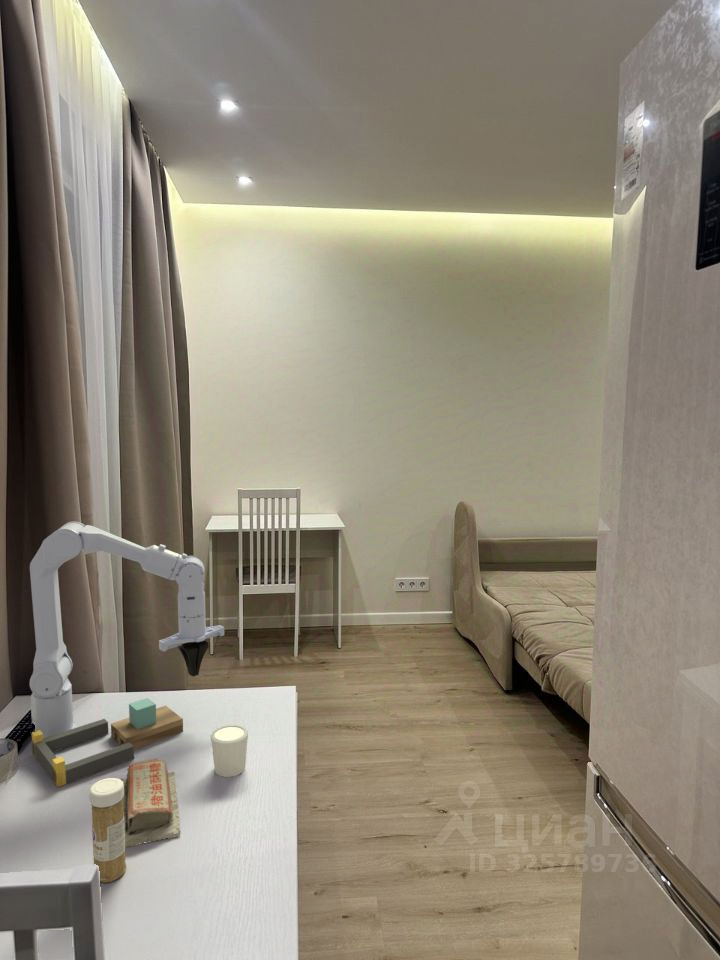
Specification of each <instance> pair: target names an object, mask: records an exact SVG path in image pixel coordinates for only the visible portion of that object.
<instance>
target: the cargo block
mask: <svg viewBox="0 0 720 960" xmlns="http://www.w3.org/2000/svg"><path fill="white" fill-rule="evenodd" d="M156 705H157V704H156V703H154V701H152V700H151V699H149V698H148V697H146V698H143V699H139V700H137V701H133V702H129V703H128V712H129V713H128V714H129V715H128V716H129V717H128V718H129V719H130V723H131V724H132V725H133V726H134V727H136V728H137V729H140V728H143V727H146V726H149V725H152V724H154V723H156V709H157V706H156Z"/></svg>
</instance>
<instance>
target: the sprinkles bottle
mask: <svg viewBox="0 0 720 960" xmlns="http://www.w3.org/2000/svg"><path fill="white" fill-rule="evenodd" d="M120 779H121V778H116V777H108V778H104V779H101V780H98V781H96V782H95V783H94V784H93V785H92V786H91V787H90V789H89V803H90V805H91V821H92V826H91V827H92V828H91V829H92V856H93V865H94V864H96V865H98V866H99V871H100V881H101V882H100V883H111V882H113V881H115V880H117V879H119V878H120V877H122V876H123V875H124V873H126V870H127V862H126V847H125V824H124V810H123V796H124V784H123V782H122V781H121V780H120Z"/></svg>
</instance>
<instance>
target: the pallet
mask: <svg viewBox="0 0 720 960" xmlns="http://www.w3.org/2000/svg"><path fill="white" fill-rule="evenodd" d="M182 732H184V721H183V718H182V717H181V716H180V715H179V714H178V713H176V712H175V711H174V710H172V709H171V708H169V707H168V706H167V705H163V706H161V707H156V723H154V724H152V725H149V726H146V727H143V728H140V729H137V728H136V727H134V726H133V725H132V724H131V723H130V719H129V717H127V718H124V719H121V720H118V721H115V722H112V723H110V736H111V737H112V739H114V740H116V741H117V743H118V745H119V746H121V745H123V744H126V743H130V744H132V745H133V746H134V750H135V749H138V748H140V747H143V746H146V745H149V744H151V743H155V742H157V741H158V742H159V741H160V740H163V739H165V738H168V737H171V736H174V735H177V734H179V733H182Z"/></svg>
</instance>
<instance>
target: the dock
mask: <svg viewBox="0 0 720 960" xmlns="http://www.w3.org/2000/svg"><path fill="white" fill-rule="evenodd" d="M108 734H109V721H108V720H107V719H105V718H102V719H100V720H99V719H98V720H96V721H92V722H90V723H87V724H84V725H80V726H78V727H77V728H74V729H71V730H68V731H64V732H61V733H58V734H55V735H52V736H49V737H46V738H43V733H42V732H41V731H40V730H38V731H35V732H32V733H31V745H32V747H31V749H32V756H34V757H35V759H36V761H37V762H38V763H39V764H40V766H41V767H42V769H43V770H44V771H45V773H46V774H47V776H48V777H49V778H50V781H52V782H53V784H54V785H55V787H57V788H59V787H62V786H65V785H67V784H70V783H73V782H75V781H78V780H80V779H84V778H86V777H89V776H92V775H94V774H96V773H99V772H103V771H104V770H107V769H110V768H113V767H115V766H118V765H122V764H123V763H126V762H130V761H131V760H134V759H135V755H134V754H135V751H134V750H135V749H134V746H133V745H132V744H130V743H126V744H123V745H118V746H115V747H112V748H110V749H108V750H104V751H101V752H99V753H96V754H92V755H90V756H88V757H87V756H86V757H85V758H81V759H79V760H75V761H73V762H69V763H67V764H66V760H65V759H64V757H63V756H59V757H57V756H56V754H54V753H56V752H58V751H61V750H64V749H67V748H69V747H73V746H75V745H78V744H82V743H84V742H87V741H90V740H93V739H96V738H99V737H102V736H105V735H108Z"/></svg>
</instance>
